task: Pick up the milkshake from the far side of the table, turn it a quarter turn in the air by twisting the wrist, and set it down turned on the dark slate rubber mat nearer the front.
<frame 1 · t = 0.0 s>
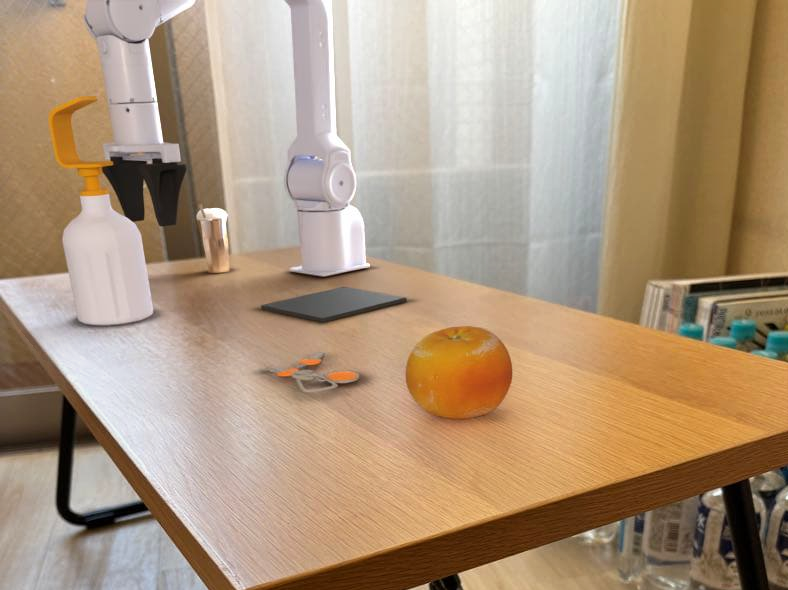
hand: (151, 223, 112), 10 cm above the table, tool pointing down, fingers open, 7 cm apart
soap bottle: (116, 319, 111), on the table
key chain: (312, 376, 85), on the table
fruit: (460, 414, 74), on the table
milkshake: (217, 272, 137), on the table
mat: (334, 305, 113), on the table
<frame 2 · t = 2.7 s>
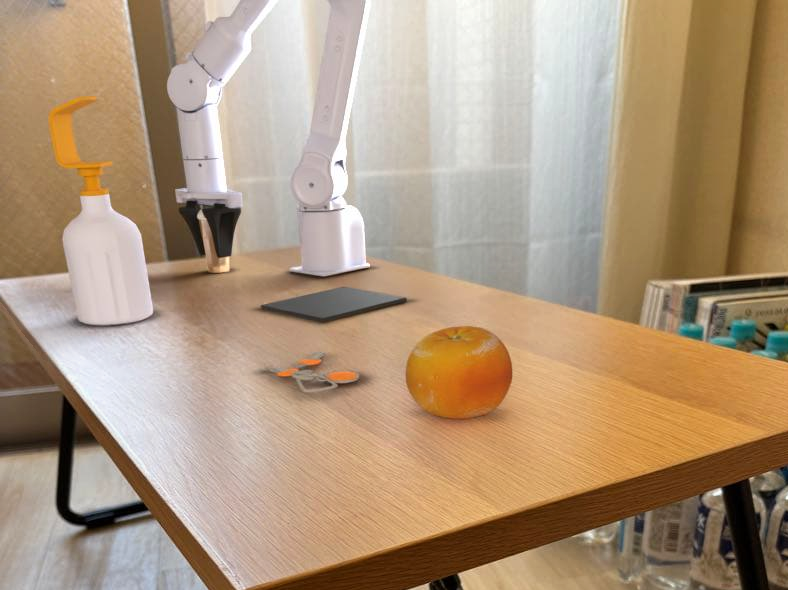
hand: (215, 255, 136), 2 cm above the table, tool pointing down, fingers closed on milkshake, 4 cm apart
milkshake: (217, 272, 137), on the table, touching gripper
everything else where it was.
when the fingers open (3 cm above the table, at t = 9.6 s): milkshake stays where it is, resting on mat.
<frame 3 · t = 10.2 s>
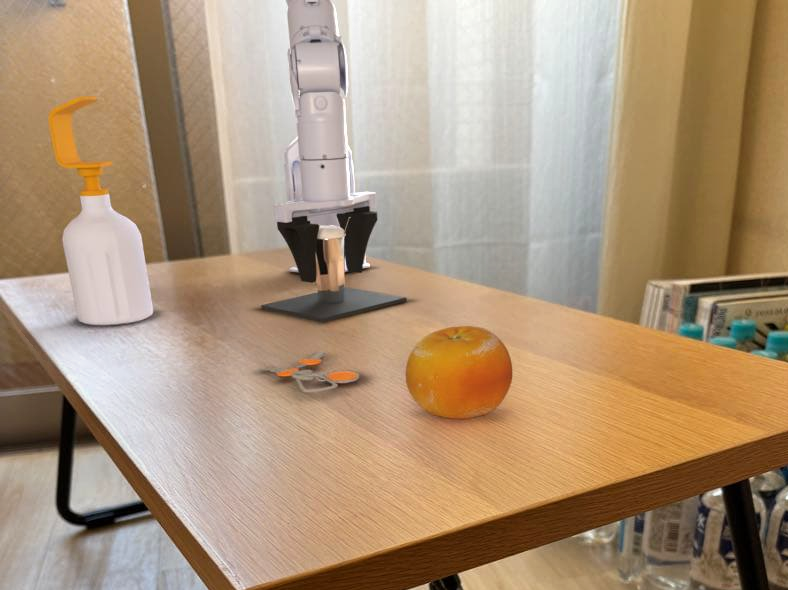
hand: (332, 276, 111), 4 cm above the table, tool pointing down, fingers open, 7 cm apart
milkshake: (334, 302, 113), resting on mat
everything else where it was.
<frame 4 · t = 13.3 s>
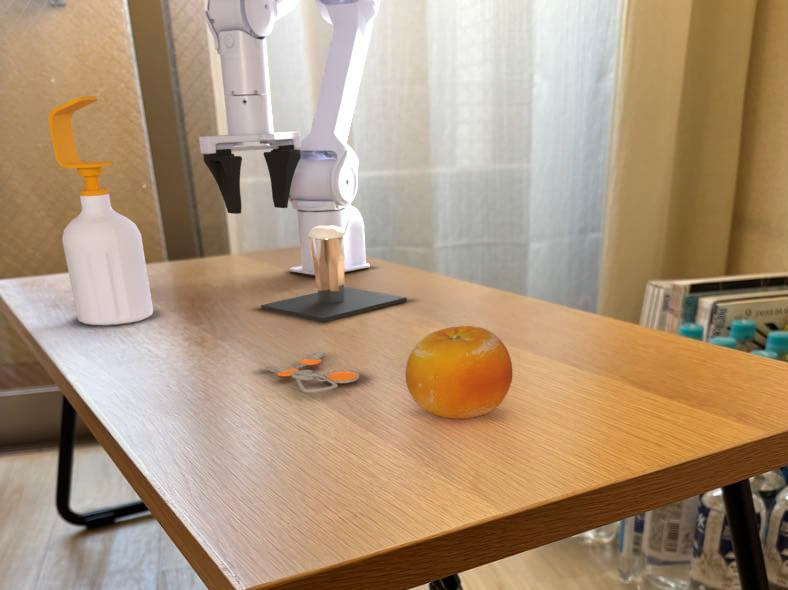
hand: (258, 210, 118), 10 cm above the table, tool pointing down, fingers open, 7 cm apart
nothing on the table moved.
at the end: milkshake inside the target area on the mat (0.1 cm from its centre), point 0.3 cm above the mat's base; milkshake tilted 0°; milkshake moved 33.5 cm from its start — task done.
